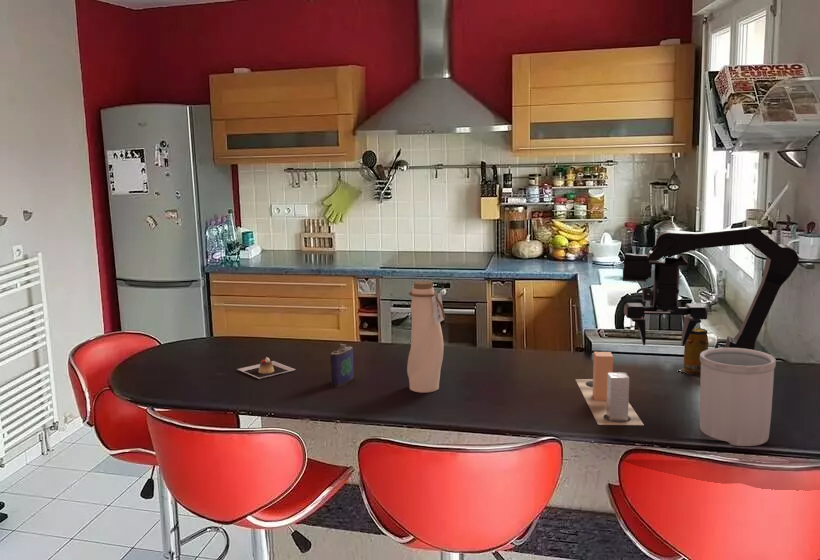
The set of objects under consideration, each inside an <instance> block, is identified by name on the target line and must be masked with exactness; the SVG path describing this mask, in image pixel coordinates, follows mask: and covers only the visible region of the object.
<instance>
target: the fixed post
mask: <svg viewBox="0 0 820 560" xmlns="http://www.w3.org/2000/svg"><path fill="white" fill-rule="evenodd" d="M629 400H630V376H629V375H628V373H626V372H613V373H608V376H607V406H606V415H607V417H608V419H609V420H610V421H628V403H630V402H629Z"/></svg>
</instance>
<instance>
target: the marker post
mask: <svg viewBox="0 0 820 560" xmlns="http://www.w3.org/2000/svg"><path fill="white" fill-rule="evenodd" d="M592 370H593V371H592V372H593V373H592V374H593V375H592V379H593V397H594V399H595V400H607V376H608V373H614V371H613V370H614V356H613V354H612V352H611V351H593V367H592Z"/></svg>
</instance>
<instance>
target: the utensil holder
mask: <svg viewBox="0 0 820 560" xmlns="http://www.w3.org/2000/svg"><path fill="white" fill-rule="evenodd" d="M700 362H701V377H700V382H699V383H700V388H699V389H700V391H699V429H700V431H701V432H702V433H704V434H705V435H707V436H708V437H711V438H713V439H715V440H716V439H717V440H719V441H724V442H727V443H728V444H729V445H730V446H734V447H735V446H736V447H753V446H754V447H755V446H760V445H763V444H765V443H767V442H768V440H769V438H770V437H769V436H770V431H771V421H772V420H771V419H772V410H773V409H772V407H773V395H774V394H773V393H774V392H773V391H774V379H775V378H774V377H775V368H776V364H777V360H776V357H774V356H773V355H772V354H769V353H767V352H763V351H759V350H755V349H754V350H751V349H743V348H724V347H715V348H708V350H705V351H703V352H701V354H700Z"/></svg>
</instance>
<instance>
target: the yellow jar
mask: <svg viewBox="0 0 820 560" xmlns="http://www.w3.org/2000/svg"><path fill="white" fill-rule="evenodd" d="M683 347H684V350H683V352H684V353H683V367H682V368H683V369H684V371H685V372H686V373H687V374H686V375H691V376H695V377H700V378H701V362H700V354H701V352H703V351H705V350H709V340H708V329H705V328H701V327H694V328H693V330H692V331H691V333H690V335H689V337H688V339H687V341H686V343H685V345H684V346H683ZM678 370H679V371H681V370H682V369H678Z"/></svg>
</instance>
